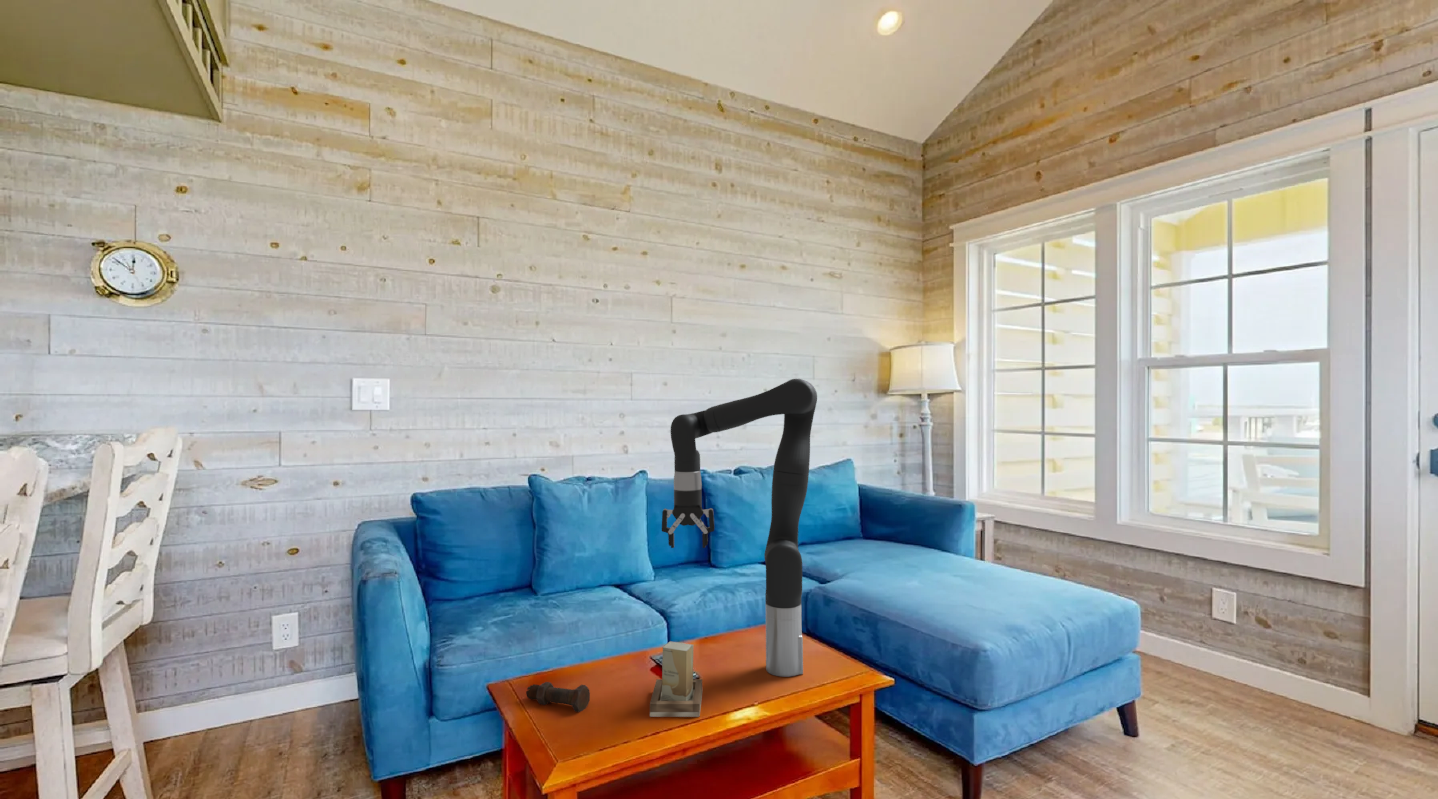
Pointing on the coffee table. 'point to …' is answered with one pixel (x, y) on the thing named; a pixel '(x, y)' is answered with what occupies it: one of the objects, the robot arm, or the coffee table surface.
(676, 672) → the skincare box
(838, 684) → the coffee table surface
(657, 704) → the tray
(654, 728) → the coffee table surface
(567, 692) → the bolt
